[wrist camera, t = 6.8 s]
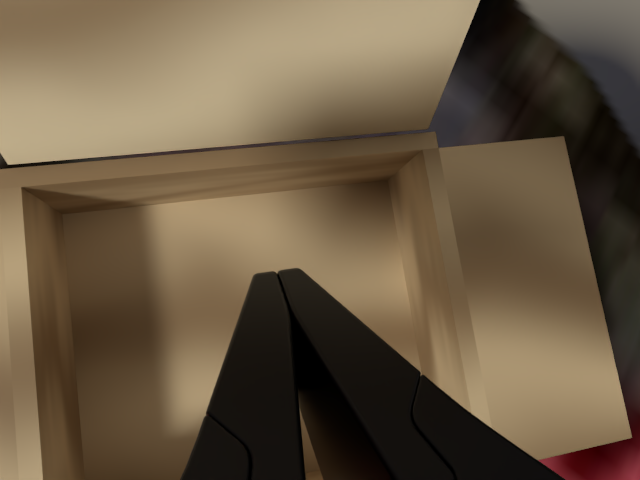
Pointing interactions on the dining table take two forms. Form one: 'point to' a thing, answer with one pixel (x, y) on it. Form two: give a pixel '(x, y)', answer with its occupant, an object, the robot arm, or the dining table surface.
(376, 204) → the open box
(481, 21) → the dining table surface
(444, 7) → the flap
